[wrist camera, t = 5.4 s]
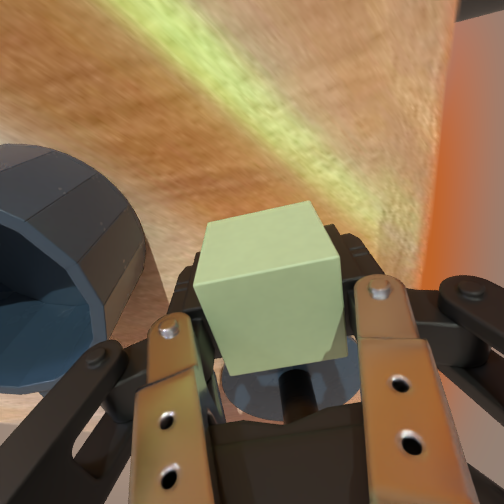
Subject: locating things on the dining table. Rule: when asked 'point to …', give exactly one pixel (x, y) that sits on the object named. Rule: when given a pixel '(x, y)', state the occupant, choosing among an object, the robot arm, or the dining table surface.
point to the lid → (295, 387)
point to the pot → (59, 263)
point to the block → (272, 289)
